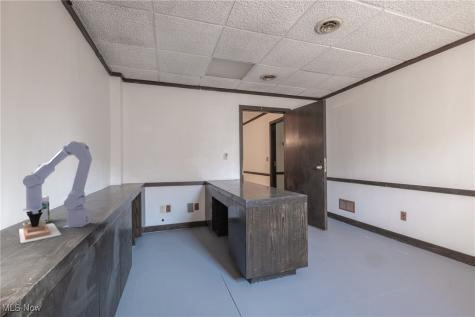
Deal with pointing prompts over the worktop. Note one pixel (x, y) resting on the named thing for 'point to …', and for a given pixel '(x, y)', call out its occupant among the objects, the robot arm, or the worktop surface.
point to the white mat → (51, 227)
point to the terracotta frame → (36, 233)
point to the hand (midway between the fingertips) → (34, 225)
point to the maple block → (28, 226)
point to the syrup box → (45, 209)
